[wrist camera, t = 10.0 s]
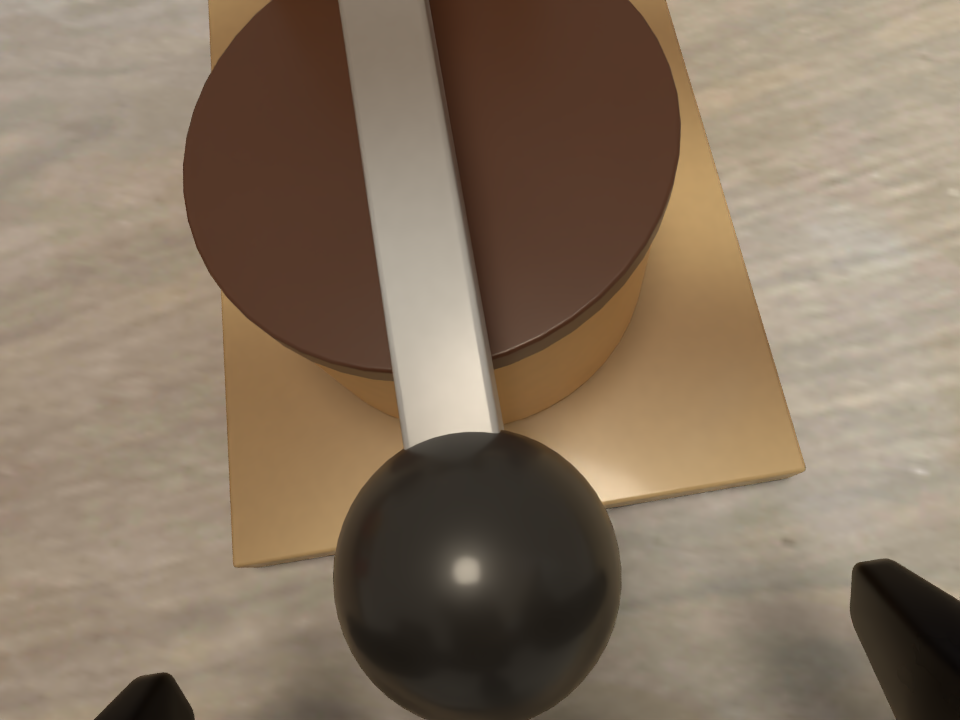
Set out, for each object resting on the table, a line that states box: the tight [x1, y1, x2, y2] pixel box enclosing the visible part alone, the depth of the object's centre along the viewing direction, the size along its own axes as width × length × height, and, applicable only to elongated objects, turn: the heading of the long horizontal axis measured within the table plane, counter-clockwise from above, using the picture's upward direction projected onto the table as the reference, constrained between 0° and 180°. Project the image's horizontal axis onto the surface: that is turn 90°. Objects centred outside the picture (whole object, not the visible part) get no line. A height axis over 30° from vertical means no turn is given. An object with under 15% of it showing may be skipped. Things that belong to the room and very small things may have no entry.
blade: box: [333, 0, 621, 720], centre depth 9 cm, size 16×3×3 cm, turn 9°
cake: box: [183, 0, 681, 425], centre depth 14 cm, size 8×8×5 cm
